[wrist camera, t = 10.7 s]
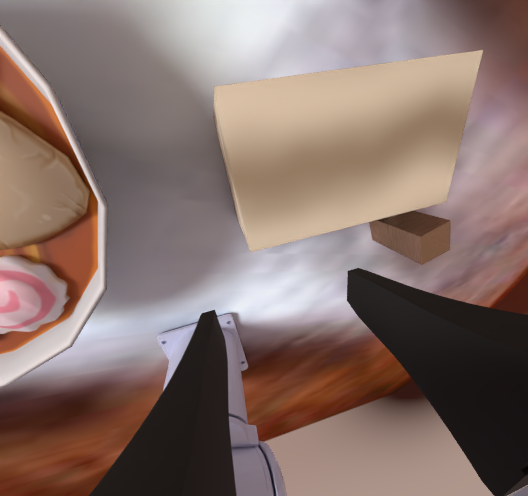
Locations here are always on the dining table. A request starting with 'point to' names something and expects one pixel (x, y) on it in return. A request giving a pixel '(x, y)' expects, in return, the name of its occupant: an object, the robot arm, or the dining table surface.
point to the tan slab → (342, 144)
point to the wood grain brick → (413, 235)
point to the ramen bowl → (43, 222)
